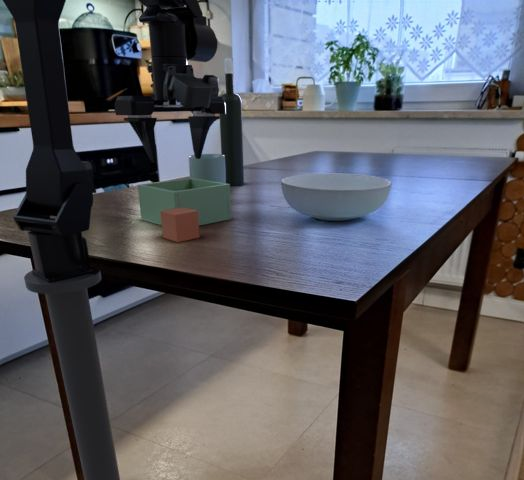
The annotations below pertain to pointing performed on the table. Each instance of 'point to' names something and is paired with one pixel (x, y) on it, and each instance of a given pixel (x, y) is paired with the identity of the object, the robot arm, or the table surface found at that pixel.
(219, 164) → the cup
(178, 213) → the terracotta block
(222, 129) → the wine bottle
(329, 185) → the serving bowl
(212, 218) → the green storage bin
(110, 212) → the table surface
